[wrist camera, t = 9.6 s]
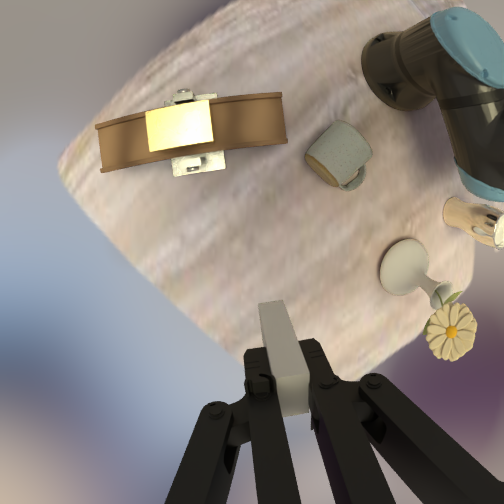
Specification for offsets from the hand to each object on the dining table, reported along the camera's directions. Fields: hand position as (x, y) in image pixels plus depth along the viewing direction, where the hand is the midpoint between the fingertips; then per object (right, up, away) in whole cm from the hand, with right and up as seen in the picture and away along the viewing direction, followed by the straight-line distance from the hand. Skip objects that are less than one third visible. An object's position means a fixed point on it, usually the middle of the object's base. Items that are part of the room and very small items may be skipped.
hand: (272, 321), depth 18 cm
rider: (-9, +19, +16) cm, 26 cm away
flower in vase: (+27, +1, +34) cm, 43 cm away
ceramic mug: (+12, +19, +27) cm, 35 cm away
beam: (-9, +20, +16) cm, 27 cm away
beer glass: (+40, +12, +32) cm, 52 cm away
